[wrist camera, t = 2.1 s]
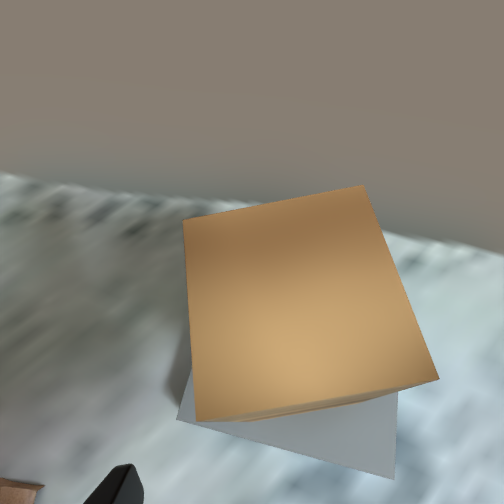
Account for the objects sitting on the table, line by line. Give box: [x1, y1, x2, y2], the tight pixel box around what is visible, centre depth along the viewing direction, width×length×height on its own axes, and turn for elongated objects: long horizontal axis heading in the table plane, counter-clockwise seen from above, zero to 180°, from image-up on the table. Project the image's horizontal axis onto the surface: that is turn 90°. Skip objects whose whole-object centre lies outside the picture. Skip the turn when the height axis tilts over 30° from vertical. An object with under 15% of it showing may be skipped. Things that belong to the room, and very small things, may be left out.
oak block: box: [183, 185, 439, 422], centre depth 12 cm, size 5×5×10 cm
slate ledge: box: [176, 368, 398, 480], centre depth 18 cm, size 10×8×2 cm
